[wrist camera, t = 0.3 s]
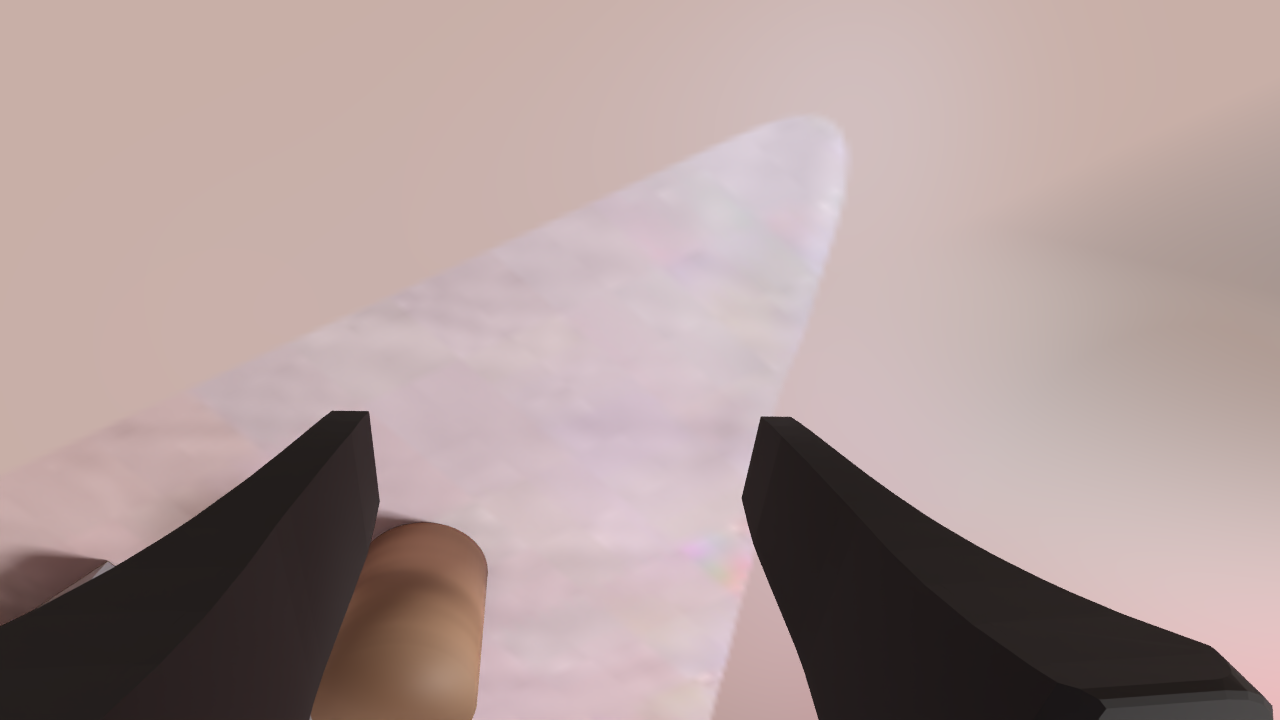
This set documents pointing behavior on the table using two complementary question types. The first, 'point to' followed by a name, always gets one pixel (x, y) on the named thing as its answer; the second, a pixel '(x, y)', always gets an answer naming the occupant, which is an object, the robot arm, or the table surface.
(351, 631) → the walnut cylinder
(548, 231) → the table surface
